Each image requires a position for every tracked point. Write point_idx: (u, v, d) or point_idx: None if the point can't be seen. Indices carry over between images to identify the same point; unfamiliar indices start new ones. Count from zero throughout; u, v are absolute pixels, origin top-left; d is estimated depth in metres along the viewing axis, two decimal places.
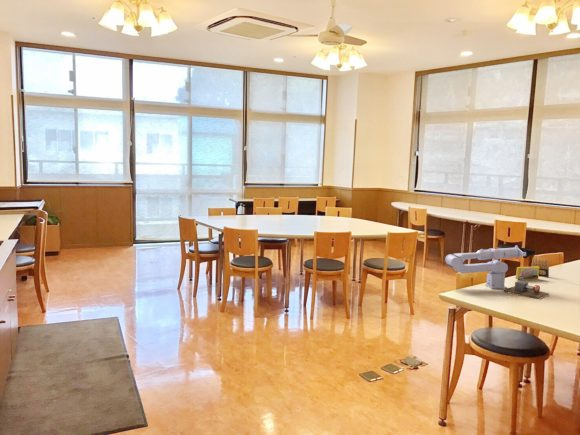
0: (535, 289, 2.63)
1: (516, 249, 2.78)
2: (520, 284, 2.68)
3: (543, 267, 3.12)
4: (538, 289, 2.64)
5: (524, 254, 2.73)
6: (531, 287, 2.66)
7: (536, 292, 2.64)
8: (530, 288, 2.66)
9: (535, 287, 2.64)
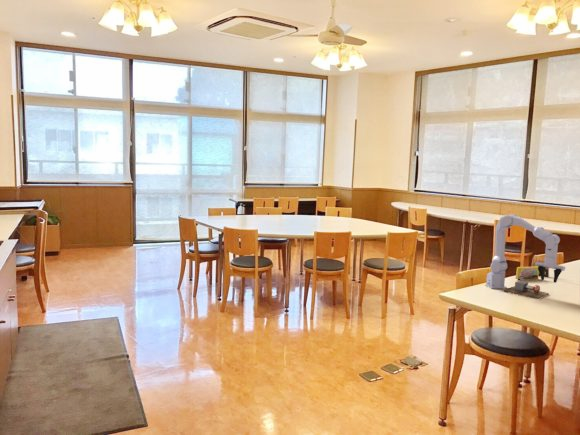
0: (535, 289, 2.63)
1: None
2: (520, 284, 2.68)
3: None
4: (538, 289, 2.64)
5: (564, 268, 2.53)
6: (531, 287, 2.66)
7: (536, 292, 2.64)
8: (530, 288, 2.66)
9: (535, 287, 2.64)
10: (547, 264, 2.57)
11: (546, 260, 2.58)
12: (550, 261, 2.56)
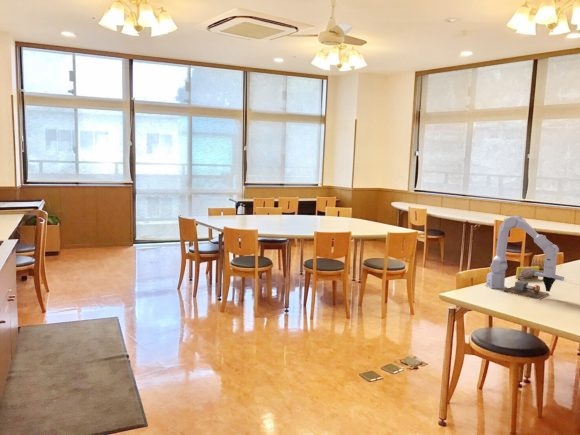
0: (535, 289, 2.63)
1: None
2: (520, 284, 2.68)
3: (543, 267, 3.12)
4: (538, 289, 2.64)
5: (563, 278, 2.54)
6: (531, 287, 2.66)
7: (536, 292, 2.64)
8: (530, 288, 2.66)
9: (535, 287, 2.64)
10: (546, 274, 2.58)
11: (545, 270, 2.58)
12: (549, 271, 2.57)
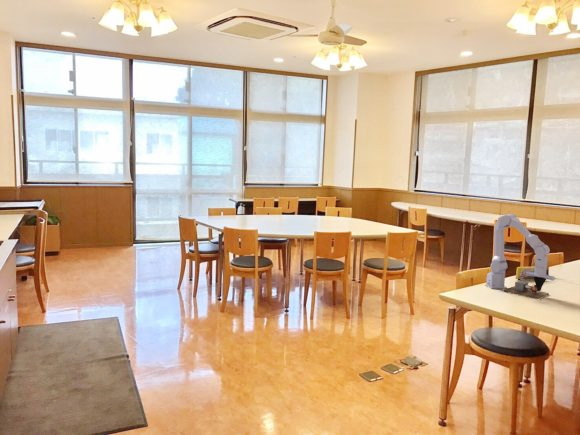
0: (533, 289, 2.64)
1: None
2: (520, 284, 2.68)
3: None
4: (536, 289, 2.65)
5: (554, 278, 2.58)
6: (529, 287, 2.67)
7: (534, 292, 2.64)
8: (528, 288, 2.67)
9: (533, 287, 2.64)
10: (537, 274, 2.61)
11: (536, 270, 2.62)
12: (540, 271, 2.60)
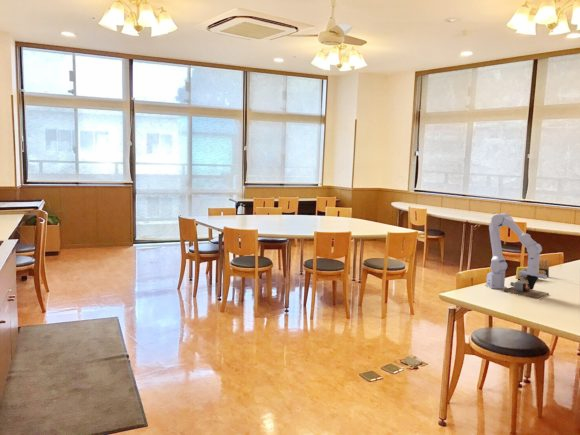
0: (526, 287, 2.67)
1: None
2: (520, 284, 2.68)
3: (543, 267, 3.12)
4: None
5: (546, 277, 2.61)
6: None
7: (527, 290, 2.67)
8: None
9: (526, 285, 2.67)
10: (529, 273, 2.64)
11: (529, 269, 2.65)
12: (532, 270, 2.63)
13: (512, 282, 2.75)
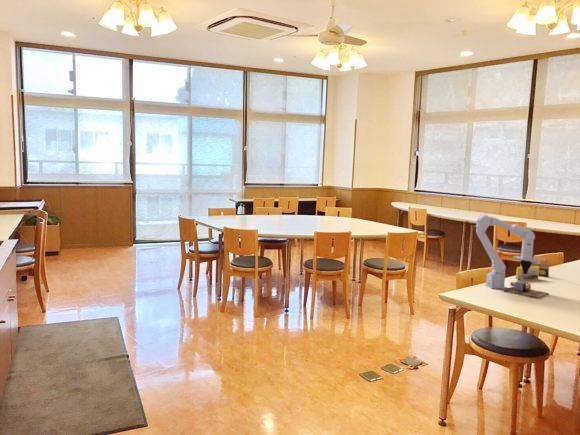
0: (526, 287, 2.67)
1: None
2: (520, 284, 2.68)
3: (543, 267, 3.12)
4: (529, 287, 2.68)
5: (539, 261, 2.70)
6: None
7: (527, 290, 2.67)
8: None
9: (526, 285, 2.67)
10: (523, 258, 2.74)
11: (522, 254, 2.75)
12: (526, 255, 2.73)
13: (512, 282, 2.75)
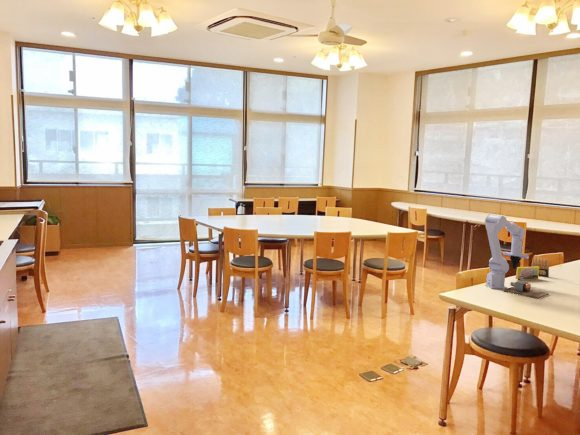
0: (526, 287, 2.67)
1: None
2: (520, 284, 2.68)
3: (543, 267, 3.12)
4: (529, 287, 2.68)
5: (528, 257, 2.84)
6: None
7: (527, 290, 2.67)
8: None
9: (526, 285, 2.67)
10: (513, 253, 2.88)
11: (512, 250, 2.88)
12: (515, 250, 2.86)
13: (512, 282, 2.75)
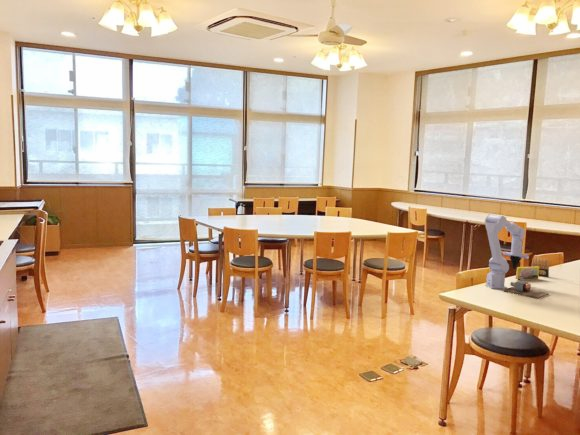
0: (526, 287, 2.67)
1: None
2: (520, 284, 2.68)
3: (543, 267, 3.12)
4: (529, 287, 2.68)
5: (528, 257, 2.84)
6: None
7: (527, 290, 2.67)
8: None
9: (526, 285, 2.67)
10: (513, 253, 2.88)
11: (512, 250, 2.88)
12: (515, 250, 2.86)
13: (512, 282, 2.75)
